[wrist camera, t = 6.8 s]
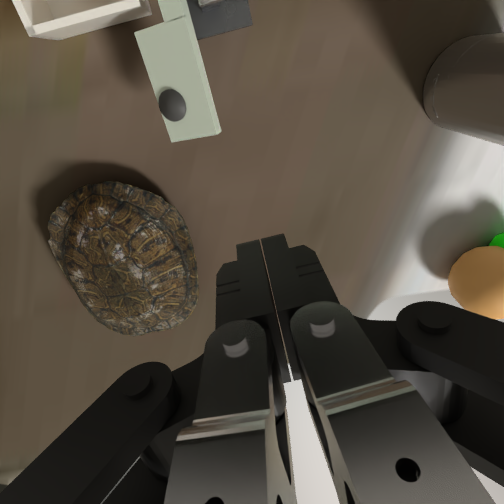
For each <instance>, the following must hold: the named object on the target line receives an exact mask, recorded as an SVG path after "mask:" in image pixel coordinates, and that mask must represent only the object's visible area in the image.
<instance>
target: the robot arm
mask: <svg viewBox="0 0 504 504" xmlns="http://www.w3.org/2000/svg"><path fill="white" fill-rule="evenodd" d="M423 103H424V107H425V111H426V113H427V115H428V116H429V118H430V119H431V120H432V121H433V122H434V123H435V124H436V125H438V126H440V127H442V128H446V129H449V130H453V131H456V132H459V133H462V134H466V135H469V136H472V137H476V138H479V139H483V140H486V141H489V142H493V143H496V144H500V145H503V146H504V33H495V34H485V35H474V36H469V37H465V38H462V39H460V40H458V41H456V42H454V43H453V44H452V45H450V46H449V47H448V48H446V49H445V50H444V51H443V52H442V53H441V54H440V55H439V56H438V58H437V59H436V61H435V62H434V63H433V65H432V66H431V69H430V71H429V73H428V75H427V77H426V81H425V84H424V90H423ZM261 242H262V246H263V251H264V255H265V260H266V264H267V269H268V273H269V278H270V282H271V287H272V291H273V295H272V291H271V287H270V282H269V278H268V274H267V270H266V266H265V262H264V258H263V254H262V250H261V246H260V242H259V240H254V241H250V242H246V243H242V244H237V245H236V248H237V260H238V261H233V262H229V263H225V264H223V265H222V267H221V268H220V270H219V272H218V273H217V278H216V286H217V288H216V296H217V297H216V330H215V331H214V332H213V333H212V334H211V335H210V336H209V338H208V339H207V341H206V344H205V349H204V353H203V354H202V355H201V356H200V357H198V358H197V359H195V360H194V361H192V362H190V363H188V364H186V365H184V366H182V367H180V368H178V369H176V370H174V371H172V372H171V370H170V368H169V367H168V366H167V365H165V364H163V363H160V362H147V363H143V364H140V365H137V366H135V367H133V368H131V369H130V370H128V371H127V372H125V373H124V374H123V375H122V376H121V377H119V378H118V379H117V380H116V381H115V382H114V383H113V384H112V385H111V386H110V387H109V388H108V389H107V390H106V391H105V392H104V393H103V394H102V395H101V396H100V397H99V398H98V399H97V400H96V401H95V402H94V403H93V404H92V405H91V406H89V407H88V408H87V409H86V410H85V411H84V412H83V413H82V414H81V415H80V416H79V417H78V418H77V419H76V420H75V421H74V422H73V423H72V424H71V425H70V426H69V427H68V428H67V429H66V430H65V431H64V432H63V433H62V434H61V435H60V436H59V437H58V438H57V439H55V440H54V441H53V442H52V443H51V444H50V445H49V446H48V447H47V448H46V449H45V450H44V451H43V452H42V453H41V454H40V455H39V456H38V457H37V458H36V459H35V460H34V461H33V462H32V463H31V464H30V465H29V466H28V467H27V468H26V469H25V470H24V471H22V472H21V473H20V474H19V475H18V476H17V477H16V478H15V479H14V480H13V481H12V482H11V483H10V484H9V485H8V486H7V487H6V488H5V489H4V490H3V491H2V492H1V493H0V504H100V503H101V502H102V501H103V499H104V498H105V497H106V496H107V495H108V493H109V492H110V491H111V490H112V489H113V487H114V486H115V485H116V484H117V482H118V481H119V480H120V479H121V478H122V476H123V475H124V474H125V473H126V471H127V470H128V469H129V468H130V467H131V465H132V464H133V463H134V462H135V461H136V459H137V458H138V457H139V456H140V458H139V459H138V461H137V462H136V463H135V464H134V466H133V467H132V468H131V469H130V471H129V472H128V473H127V475H126V476H125V477H124V478H123V479H122V481H121V482H120V483H119V484H118V485H117V486H116V488H115V489H114V490H113V491H112V493H111V494H110V495H109V496H108V497H107V499H106V500H105V501H104V502H103V504H297V499H296V492H295V483H294V474H293V464H292V455H291V444H290V435H289V426H288V416H287V410H286V395H285V391H284V385H283V383H286V382H291V378H290V373H289V369H288V364H287V359H286V355H285V350H284V346H283V341H282V336H281V332H280V327H279V323H278V318H279V322H280V326H281V330H282V334H283V338H284V342H285V347H286V351H287V355H288V359H289V363H290V367H291V371H292V375H293V379H294V380H299V379H302V383H303V387H304V391H305V395H306V400H307V404H308V408H309V412H310V414H311V417H312V420H313V423H314V426H315V429H316V432H317V435H318V438H319V441H320V444H321V447H322V450H323V453H324V456H325V459H326V462H327V464H328V468H329V470H330V473H331V476H332V479H333V482H334V486H335V489H336V492H337V495H338V499H339V503H340V504H496V503H495V502H494V500H493V499H492V498H491V496H490V495H489V493H488V492H487V490H486V489H485V488H484V486H483V485H482V483H481V482H480V480H479V479H478V477H477V476H476V474H475V473H474V472H473V470H472V469H471V467H472V468H474V469H476V470H477V471H479V472H480V473H482V474H483V475H485V476H487V477H488V478H490V479H492V480H493V481H495V482H496V483H498V484H500V485H501V486H503V487H504V322H501V321H498V320H495V319H492V318H489V317H486V316H483V315H480V314H477V313H473V312H470V311H467V310H464V309H461V308H458V307H455V306H452V305H449V304H446V303H441V302H434V301H423V302H417V303H413V304H411V305H408V306H406V307H405V308H403V309H402V310H401V311H400V312H399V314H398V316H397V318H396V321H378V320H367V319H362V318H359V317H356V316H354V315H353V314H352V313H351V312H350V310H348V309H347V308H346V307H344V306H343V305H341V304H340V303H339V301H338V299H337V297H336V294H335V292H334V290H333V288H332V286H331V284H330V282H329V280H328V278H327V276H326V274H325V272H324V270H323V268H322V266H321V263H320V261H319V259H318V257H317V255H316V253H315V251H313V250H311V249H310V248H308V247H307V246H305V245H301V246H297V247H293V248H289V247H288V244H287V242H286V239H285V236H284V234H279V235H275V236H271V237H267V238H262V239H261ZM273 296H274V300H275V304H274V300H273ZM275 305H276V309H277V313H276V309H275ZM277 314H278V318H277Z"/></svg>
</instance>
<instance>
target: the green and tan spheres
mask: <svg viewBox="0 0 504 504" xmlns="http://www.w3.org/2000/svg"><path fill="white" fill-rule="evenodd" d="M448 285H449V288H450V292H451V295H452V296H453V297H454V298H455V299H456V300H457V302H458V303H459V304H460V305H461V306H462V307H463V308H464V309H465V310H467V311H470V312H473V313H477V314H480V315H483V316H486V317H489V318H492V319H503V318H504V233H501V234H499V235H496V236H495V237H494V238H493V240H492V241H491V242H490V244H489V246H484V247H476V248H474V249H472V250H470V251H467V252H465V253H464V254H463V255H462V256H461V257H460V258H459V259H458V260H457V261H456V262H455V263H454V265H453V266H452V267H451V271H450V274H449V277H448Z"/></svg>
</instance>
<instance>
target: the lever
mask: <svg viewBox="0 0 504 504" xmlns="http://www.w3.org/2000/svg"><path fill="white" fill-rule="evenodd" d="M158 3H159V6H160V9H161V13H162V16H163V19H164V22H163V23H160V24H157V25H154V26H151V27H149V28H146V29H143V30H140V31H137V32H134V34H135V37H136V40H137V43H138V46H139V49H140V52H141V54H142V57H143V60H144V63H145V66H146V69H147V72H148V75H149V78H150V81H151V84H152V87H153V89H154V92H155V95H156V98H157V101H158V104H159V108H160V111H161V113H162V116H163V119H164V122H165V125H166V127H167V130H168V133H169V136H170V139H171V142H176V141H182V140H188V139H194V138H200V137H206V136H212V135H217V134H219V133H220V132H221V128H220V124H219V120H218V117H217V113H216V109H215V105H214V102H213V98H212V94H211V90H210V87H209V83H208V79H207V75H206V72H205V68H204V64H203V61H202V57H201V53H200V49H199V46H198V42H197V38H196V34H195V31H194V27H193V23H192V19H191V16H190V12H189V8H188V4H187V1H186V0H158Z"/></svg>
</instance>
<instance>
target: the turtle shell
mask: <svg viewBox="0 0 504 504" xmlns="http://www.w3.org/2000/svg"><path fill="white" fill-rule="evenodd" d="M48 223H49V224H48V230H49V232H50V236H51V238H50V239H49V240H48V243H49V246H50V248H51V251H52V253H53V255H54V257H55V259H56V261H57V263H58V264H59V266H60V268H61V270H62V272H63V273H64V274H65V276H66V278H67V279H68V281H69V282H70V284H71V285H72V287H73V289H74V290H75V292H76V293H77V295H78V297H79V299H80V301H81V302H82V304H83V306H84V307H85V308H86V309H87V311H88V312H89V313H90V315H91V316H92V317H93V318H94V319H96V320H97V321H98V322H99V323H101V324H103V325H105V326H106V327H107V328H108V329H111V330H113V331H115V332H117V333H120V334H123V335H130V336H142V335H144V334H148V333H151V332H155V331H157V332H159V331H164V330H168V329H172V328H174V327H176V326H178V325H180V324H181V323H183V322H184V321H185V320H186V319H187V318H188V317H189V316H190V315H191V314H192V312H193V310H194V308H195V306H196V304H197V301H198V295H199V284H198V274H197V262H196V257H195V254H194V249H193V245H192V241H191V238H190V235H189V231H188V227H187V226H186V224H185V222H184V219H183V217H182V216H181V215H180V214H179V212H178V211H177V210H176V208H175V207H173V206H172V205H170V204H169V203H167V202H165V201H164V199H163V198H162V197H160V196H158V195H155V194H153V193H152V192H150V191H146V190H142V189H139V188H138V187H132V186H131V185H128V184H122V183H120V182H109V181H105V182H103V183H99V184H93V185H90V184H88V185H85V186H84V187H80V188H78V189H77V190H76V191H75V192H74V193H71V194H70V195H69V197H68V199H64V201H63V203H62V206H57V208H56V210H55V212H53V213H51V215H50V221H48Z"/></svg>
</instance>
